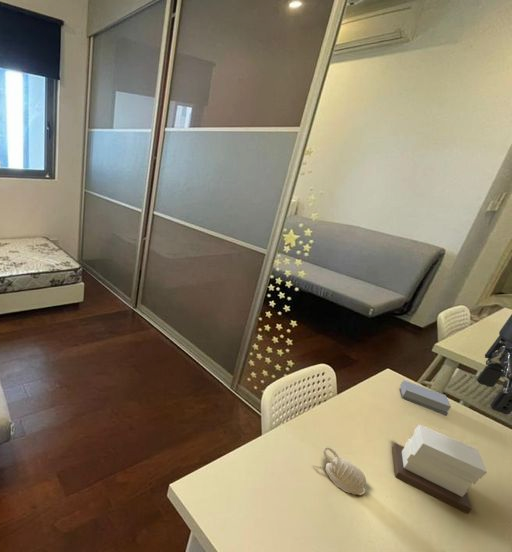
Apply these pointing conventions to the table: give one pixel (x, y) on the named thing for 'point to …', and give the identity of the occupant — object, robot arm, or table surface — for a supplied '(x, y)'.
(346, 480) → the decorative ornament
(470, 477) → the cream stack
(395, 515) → the table surface
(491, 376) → the robot arm
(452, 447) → the white rectangular block
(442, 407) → the blue-grey block
